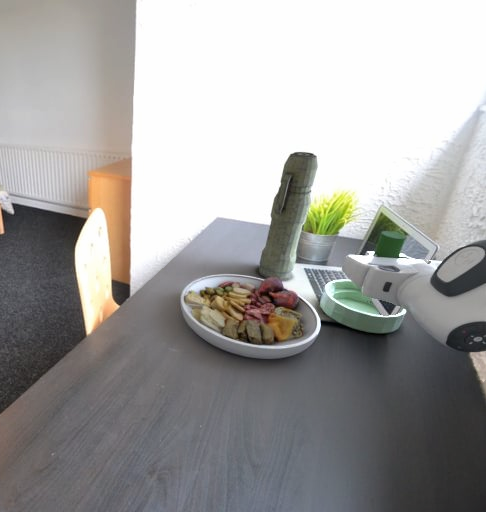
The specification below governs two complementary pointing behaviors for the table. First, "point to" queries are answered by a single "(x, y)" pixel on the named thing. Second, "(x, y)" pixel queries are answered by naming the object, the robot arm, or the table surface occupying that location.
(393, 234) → the green cylinder
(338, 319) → the bowl
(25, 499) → the table surface
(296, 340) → the bowl
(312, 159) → the thermos
